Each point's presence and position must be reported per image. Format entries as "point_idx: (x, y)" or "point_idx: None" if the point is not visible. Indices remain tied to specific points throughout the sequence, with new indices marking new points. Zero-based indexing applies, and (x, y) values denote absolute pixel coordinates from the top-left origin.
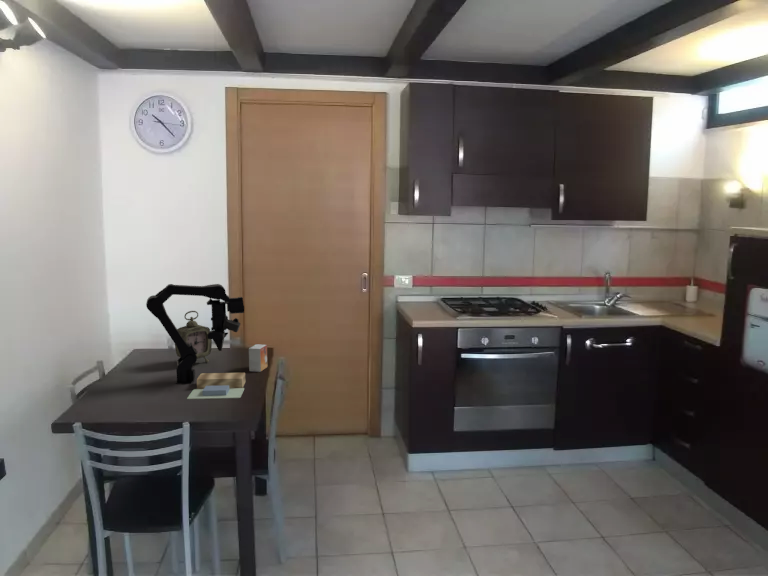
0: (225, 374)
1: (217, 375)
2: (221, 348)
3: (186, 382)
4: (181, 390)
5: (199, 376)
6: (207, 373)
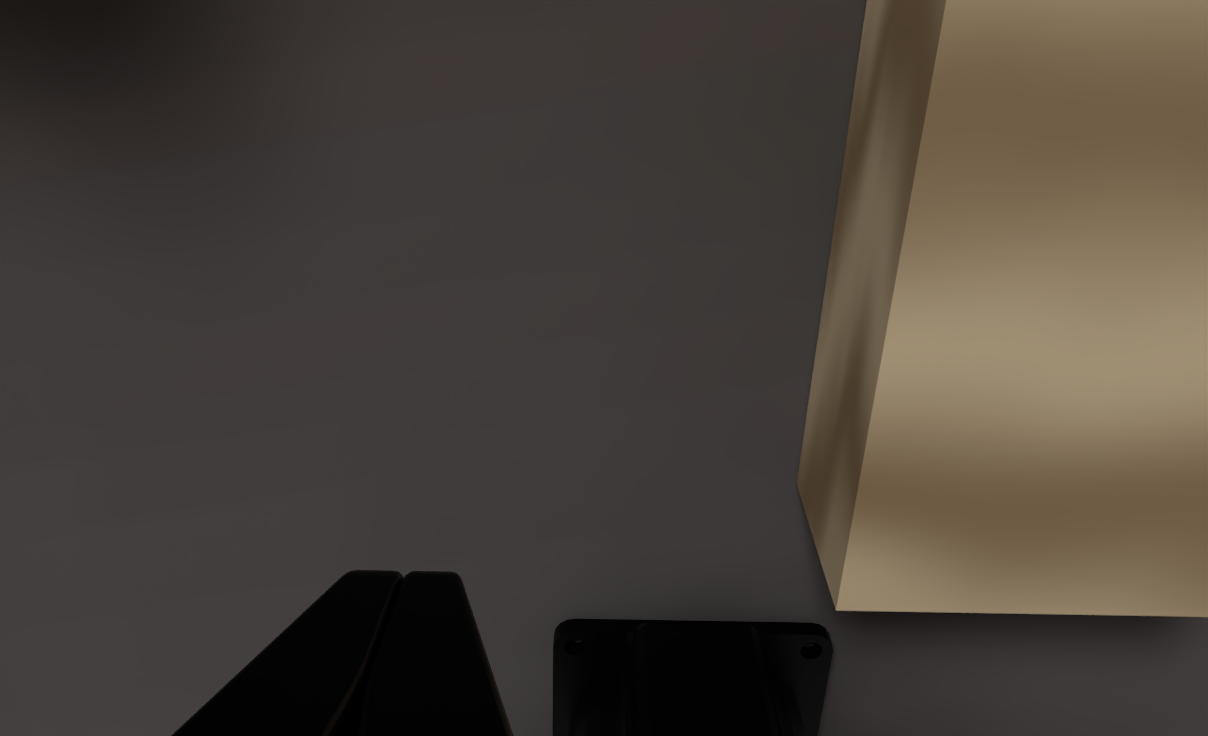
0: (1104, 22)
1: (1122, 237)
2: (486, 659)
3: (820, 700)
4: (1142, 683)
5: (1064, 602)
6: (872, 492)
